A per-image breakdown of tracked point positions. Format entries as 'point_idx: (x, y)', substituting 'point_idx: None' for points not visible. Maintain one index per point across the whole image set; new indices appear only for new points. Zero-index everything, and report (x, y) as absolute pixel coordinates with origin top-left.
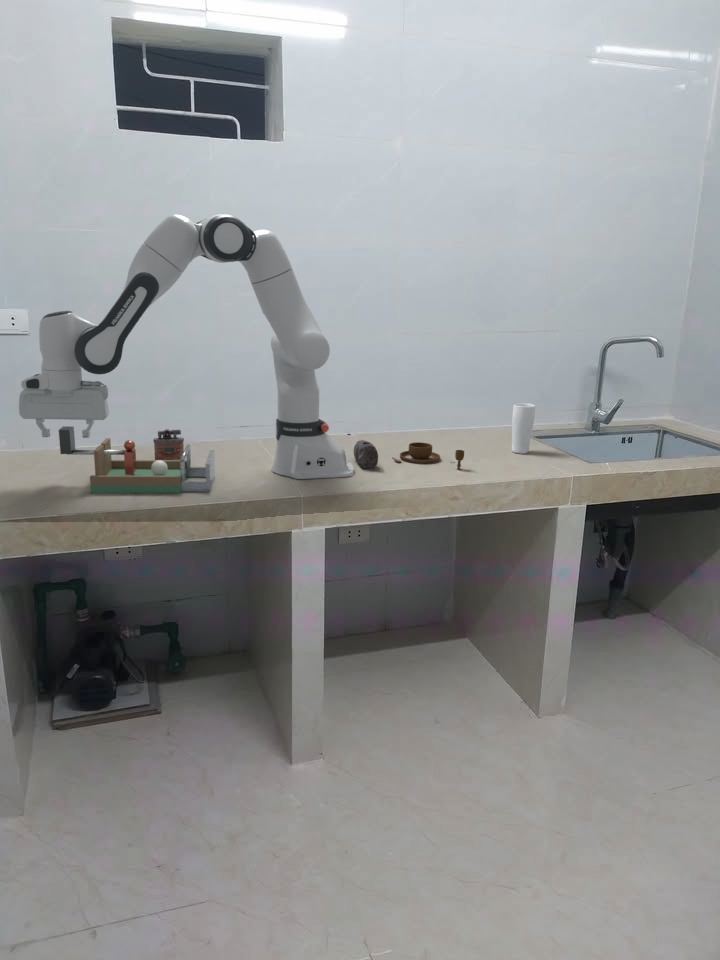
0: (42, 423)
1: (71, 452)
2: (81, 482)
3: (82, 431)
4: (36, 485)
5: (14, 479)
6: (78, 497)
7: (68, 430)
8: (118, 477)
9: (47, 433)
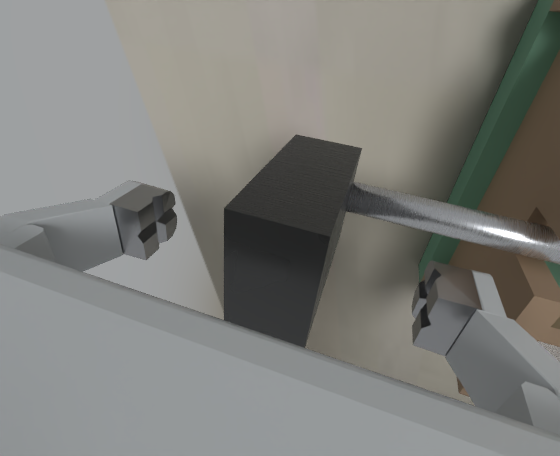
0: (52, 230)
1: (339, 236)
2: (393, 125)
3: (416, 341)
4: (232, 136)
5: (135, 33)
6: (375, 292)
7: (297, 343)
8: (541, 340)
9: (157, 245)
